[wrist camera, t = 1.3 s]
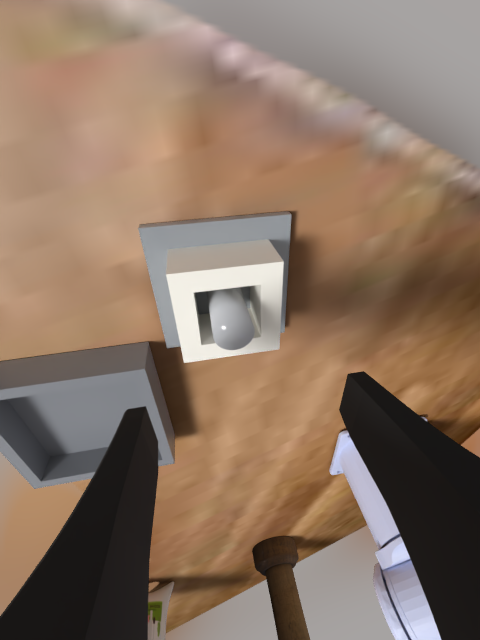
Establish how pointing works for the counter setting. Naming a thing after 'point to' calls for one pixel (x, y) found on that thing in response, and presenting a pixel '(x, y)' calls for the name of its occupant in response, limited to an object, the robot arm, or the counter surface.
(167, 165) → the counter surface
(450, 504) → the robot arm
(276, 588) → the brown tall wooden piece
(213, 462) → the counter surface
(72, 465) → the tray
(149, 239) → the grey plate with post
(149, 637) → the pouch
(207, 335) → the ring
